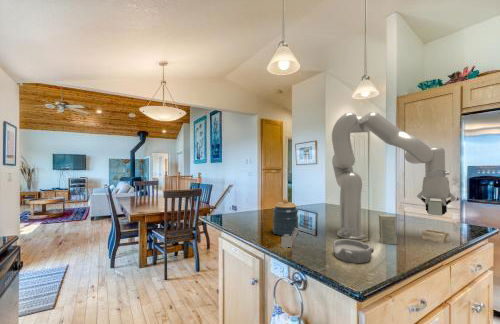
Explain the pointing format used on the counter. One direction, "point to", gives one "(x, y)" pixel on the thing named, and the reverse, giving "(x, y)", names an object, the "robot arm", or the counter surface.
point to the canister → (285, 218)
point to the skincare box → (387, 229)
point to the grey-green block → (435, 207)
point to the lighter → (288, 239)
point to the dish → (352, 250)
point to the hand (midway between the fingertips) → (436, 212)
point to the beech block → (436, 236)
